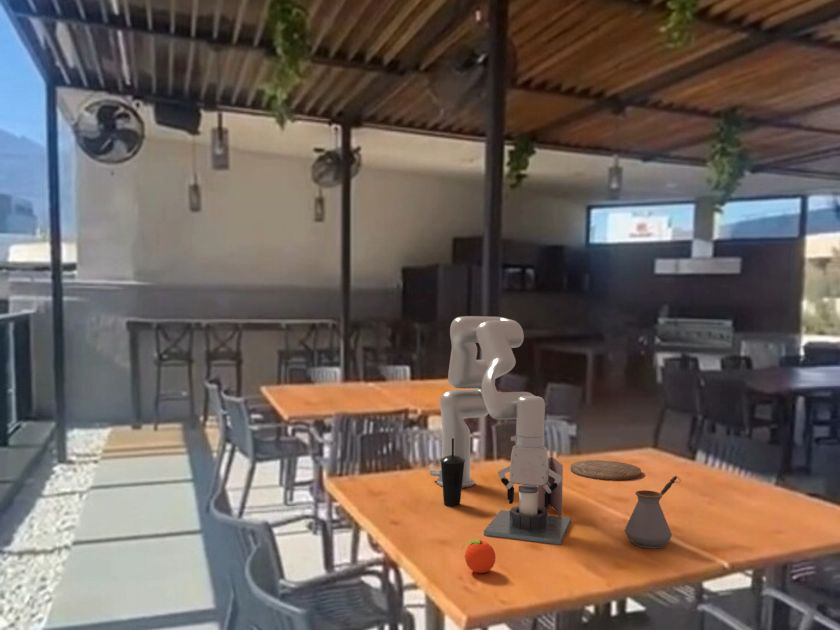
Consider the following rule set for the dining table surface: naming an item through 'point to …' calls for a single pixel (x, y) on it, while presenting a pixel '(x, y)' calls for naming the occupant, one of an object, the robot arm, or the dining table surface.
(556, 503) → the greeting card
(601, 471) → the trivet
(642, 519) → the coffee pot
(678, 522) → the dining table surface
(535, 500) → the round-ended cylinder
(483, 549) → the clementine
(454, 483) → the drinking cup
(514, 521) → the square plate with ring
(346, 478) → the dining table surface
